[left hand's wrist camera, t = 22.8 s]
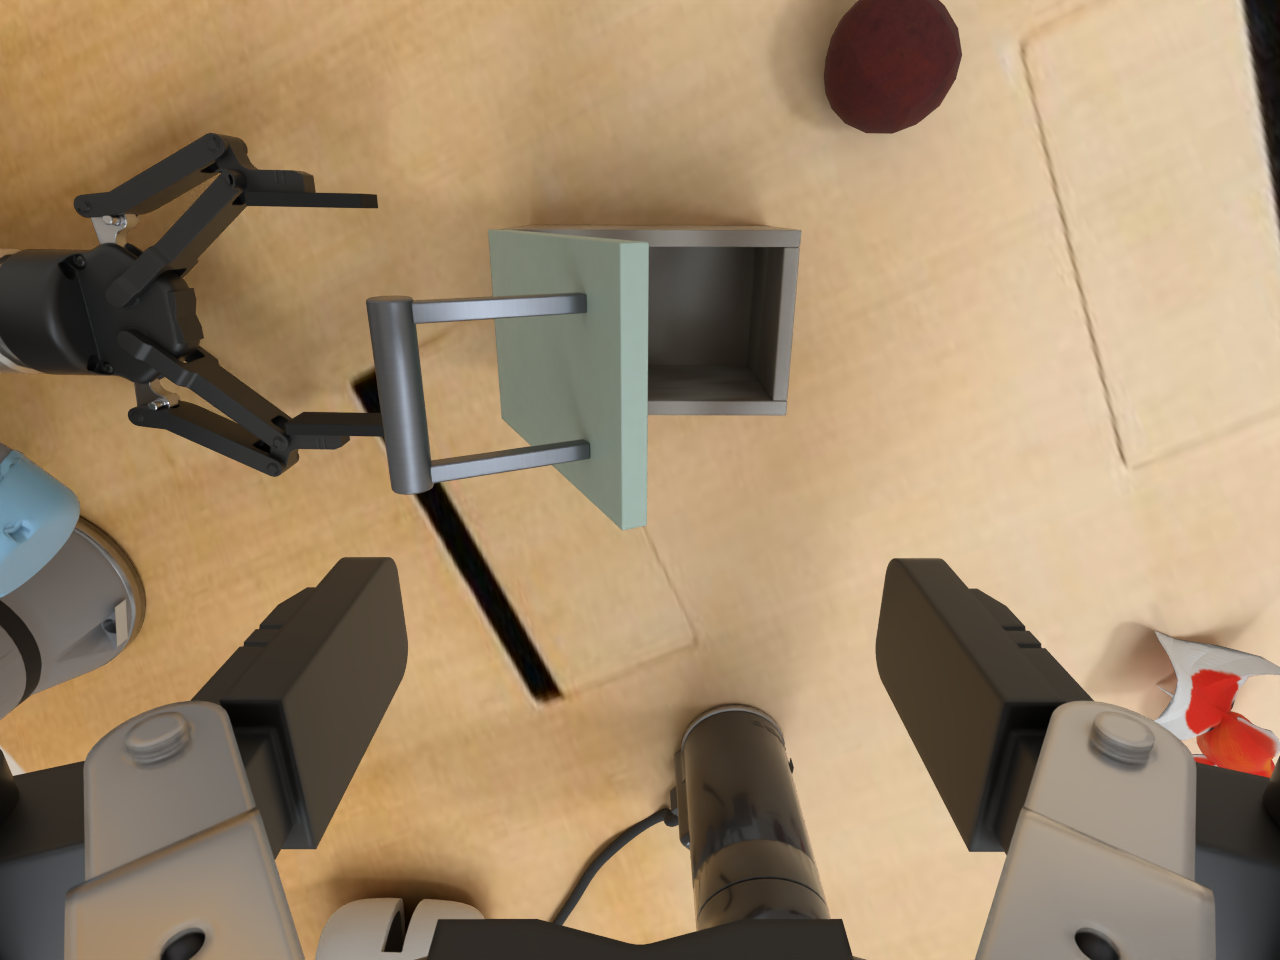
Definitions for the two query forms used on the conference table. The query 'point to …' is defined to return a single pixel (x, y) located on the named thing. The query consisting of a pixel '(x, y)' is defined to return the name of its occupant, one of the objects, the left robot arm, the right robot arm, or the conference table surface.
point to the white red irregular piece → (1217, 705)
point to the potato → (891, 63)
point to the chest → (714, 314)
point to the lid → (537, 368)
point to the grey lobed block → (386, 929)
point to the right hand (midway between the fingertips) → (383, 319)
